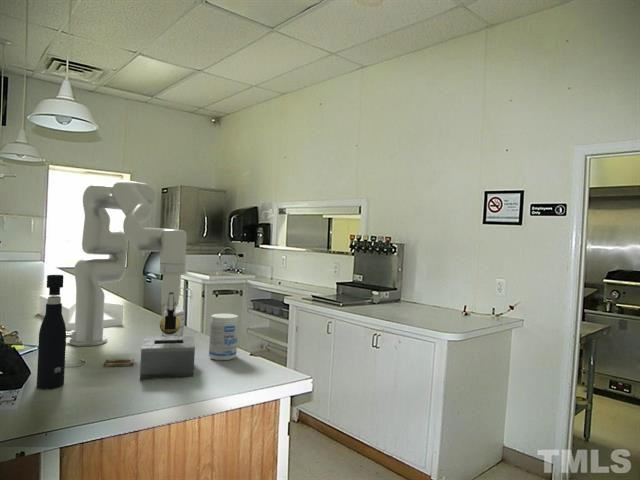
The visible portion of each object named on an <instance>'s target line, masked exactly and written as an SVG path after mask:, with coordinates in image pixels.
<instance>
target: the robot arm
mask: <svg viewBox="0 0 640 480" xmlns="http://www.w3.org/2000/svg"><path fill="white" fill-rule="evenodd" d="M155 201H156V192H155V189H154V188H153V187H152V185H150V184H148V183H145V182H138V181H132V180H120V181H117V182H115V183H114V184H113V185H110V184H100V183H97V184H91V185H89V186H88V187H86V188H85V190H84V192H83V195H82V205H83V207H82V208H83V211H84V221H83V230H82V240H81V241H82V242H81V249H82V251H83V252H84V253H85V254H87V255H93V256H96V255H97V256H99V255H100V256H107V255H108V257H87V258H83V259H82V258H81V259H79V260H78V261H77V262H76V263H75V265H74V267H73V269H74V279H75V291H76V294H75V299H76V312H75V330H71V331H66V339H67V338H70V339H69V343H68V344H70V345H72V346H75V347H76V346H77V347H91V346H99V345H102V344H103V345H104V344H105V343H107V341H108V337H106V336H104V327H103V321H104V299H106V298H105V293H104V291H103V288H101V286H100V284H103V283H104V284H106V283H107V284H108V283H117V282H120V281H121V280H123V278H124V276H125V273H126V265H127V264H126V263H127V257H128V256H127V255H128V249H129V248H128V247H129V245H130V246H131V247H132V248H133V249H134V250H136V251H138V252H149V253H150V252H154V253H155V252H159V253H160V257H159V258H160V261H159V274H160V275H162V285H161V305H160V306H161V307H162V308H164V307H165V308H166V309H165V311H166V316H165V330H173V329H176V316H175V311H176V309H177V307H179V301H180V296H181V280H182V275H183V276H184V275H186V262H187V261H186V259H187V258H186V257H187V237H188V236H187V231H185V230H183V229H173V228H172V229H171V228H162V227H161V228H159V227H143V226H142V225H141V224H142V223H145V222H146V221H148V219H150V217H151V216H152V213H153V208H152V205H153V204H154V203H155ZM107 209H108V210H109V209H111V210H121V211H122V213H123V214H124V215H125V217H124V220H123V223H122V224H123V226H122V227H123V231H121V230H117V229H115V230H114V229H110V224H111V217H110V214H109V213H108V211H107ZM173 315H174V316H173Z"/></svg>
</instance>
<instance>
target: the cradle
mask: <svg viewBox="0 0 640 480" xmlns="http://www.w3.org/2000/svg"><path fill="white" fill-rule="evenodd" d="M134 358H135V357H134ZM134 358H129V359H128V358H126V359H125V358H122V359H109V358H106V359H105V360H104V362H103V364H102V366H103V367H104V368H109V367H110V368H111V367H114V368H115V367H132V366H133V364H134V363H135V359H134Z"/></svg>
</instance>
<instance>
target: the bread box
mask: <svg viewBox="0 0 640 480" xmlns="http://www.w3.org/2000/svg"><path fill="white" fill-rule="evenodd" d="M48 297H50V295H45V294H39V295H38V307H37V308H38V314H39V315H40V316H42V317H43V316H44V317H45V314H46V304H47V303H48V302H47V301H48V300H47V299H48ZM60 297H61V303H62V316H63V319H64V322H65V327H66V332H71V331H74V330H75V312H76V298H69V297H62V296H60ZM44 317H43V318H44ZM123 317H124V304H121V303H118V302H117V301H116V302H115V301H113V300H110V299H107V298H105V299H104V321H103V328H106V327H117V326H123V321H124V319H123Z"/></svg>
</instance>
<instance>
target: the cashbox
mask: <svg viewBox="0 0 640 480" xmlns="http://www.w3.org/2000/svg"><path fill="white" fill-rule="evenodd" d="M195 349H196V345H195V337H194V335H183V336H162V335H161V336H160V335H159V336H144V339H143V343H142V345H141V348H140V369H139V371H140V372H139V380H140V381H141V380H158V379H159V380H161V379H181V378H182V379H183V378H194V374H195V373H194V372H195V356H196V354H195V353H196V350H195Z"/></svg>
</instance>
